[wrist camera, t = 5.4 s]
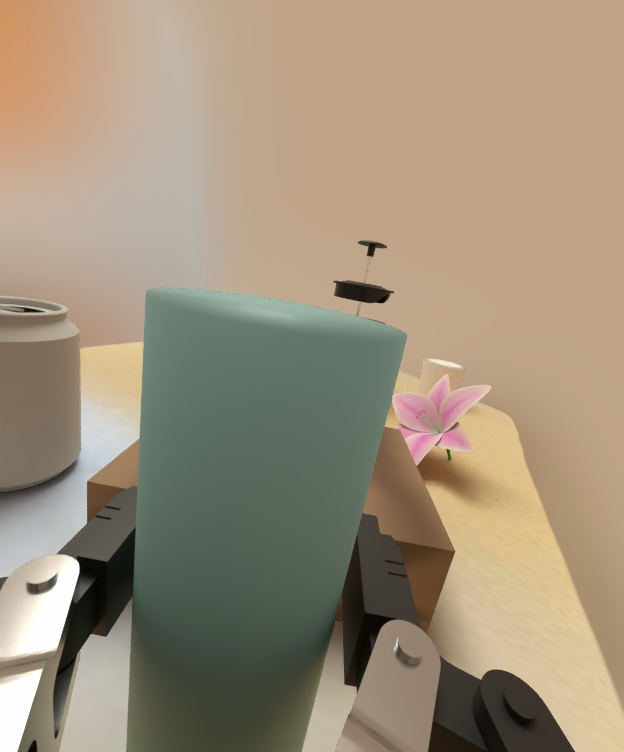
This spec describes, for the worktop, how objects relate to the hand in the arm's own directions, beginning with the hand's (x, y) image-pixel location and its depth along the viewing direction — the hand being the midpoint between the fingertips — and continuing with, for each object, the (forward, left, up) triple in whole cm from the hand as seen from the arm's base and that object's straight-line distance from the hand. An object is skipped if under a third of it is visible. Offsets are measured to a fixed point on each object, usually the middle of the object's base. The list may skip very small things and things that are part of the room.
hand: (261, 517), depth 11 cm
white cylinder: (+22, +49, -9) cm, 54 cm away
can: (-19, +12, -9) cm, 24 cm away
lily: (+14, +25, -9) cm, 30 cm away
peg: (0, -2, -9) cm, 9 cm away
